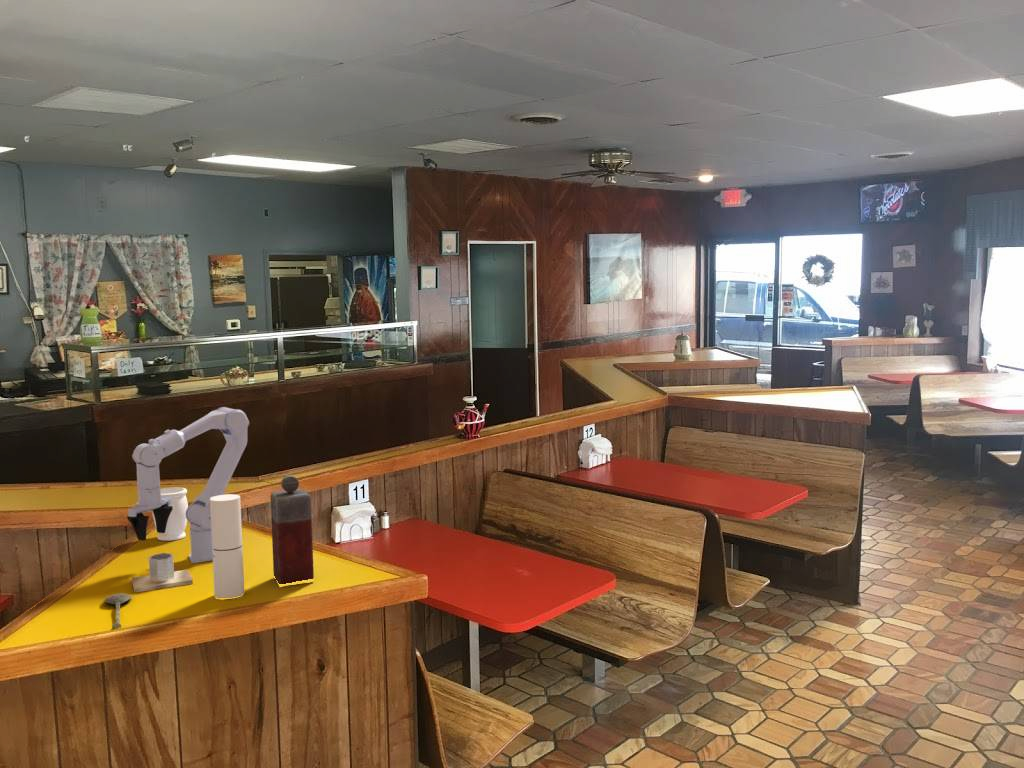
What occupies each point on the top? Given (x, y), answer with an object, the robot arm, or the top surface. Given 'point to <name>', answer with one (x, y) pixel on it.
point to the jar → (174, 514)
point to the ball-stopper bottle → (291, 533)
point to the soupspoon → (117, 605)
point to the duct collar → (161, 567)
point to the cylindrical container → (227, 546)
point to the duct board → (145, 584)
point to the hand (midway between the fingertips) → (151, 536)
